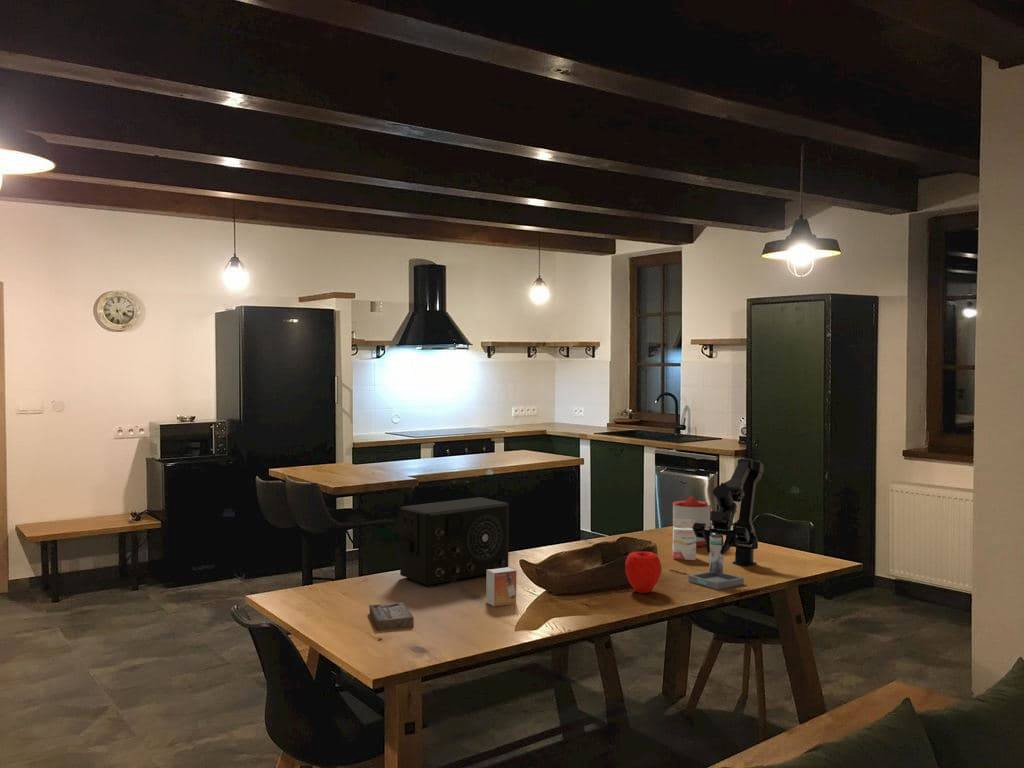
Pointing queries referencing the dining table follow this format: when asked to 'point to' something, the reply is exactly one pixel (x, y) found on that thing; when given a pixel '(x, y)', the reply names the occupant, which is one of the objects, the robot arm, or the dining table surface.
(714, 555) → the canister
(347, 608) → the dining table surface
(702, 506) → the citrus juicer
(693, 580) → the tray
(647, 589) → the apple
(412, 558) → the vintage radio
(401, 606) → the box
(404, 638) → the dining table surface
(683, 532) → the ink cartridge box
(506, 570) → the small box
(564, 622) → the dining table surface
